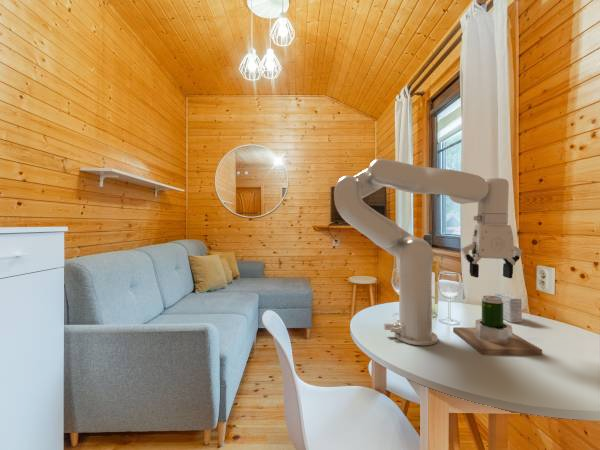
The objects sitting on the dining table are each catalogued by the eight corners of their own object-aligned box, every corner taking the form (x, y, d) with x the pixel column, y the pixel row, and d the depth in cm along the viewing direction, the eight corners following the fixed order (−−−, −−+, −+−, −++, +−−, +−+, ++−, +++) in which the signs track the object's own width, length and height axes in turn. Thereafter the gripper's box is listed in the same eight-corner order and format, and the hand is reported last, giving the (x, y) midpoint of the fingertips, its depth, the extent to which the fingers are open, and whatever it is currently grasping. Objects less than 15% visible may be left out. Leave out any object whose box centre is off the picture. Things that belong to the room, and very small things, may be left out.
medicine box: (522, 322, 102) (522, 298, 102) (510, 323, 102) (510, 299, 102) (505, 315, 110) (505, 293, 110) (494, 315, 110) (494, 293, 110)
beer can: (498, 342, 82) (498, 301, 82) (478, 336, 87) (478, 297, 87) (506, 338, 85) (506, 298, 85) (486, 332, 90) (486, 294, 90)
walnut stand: (481, 354, 78) (481, 348, 78) (453, 331, 94) (453, 327, 94) (542, 355, 78) (542, 349, 77) (503, 332, 93) (503, 327, 93)
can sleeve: (486, 343, 82) (486, 329, 82) (469, 331, 91) (469, 319, 91) (519, 343, 81) (519, 330, 81) (499, 331, 90) (499, 319, 90)
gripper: (469, 219, 82) (468, 278, 82) (531, 220, 81) (530, 280, 82) (456, 219, 90) (455, 274, 90) (513, 220, 89) (511, 275, 89)
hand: (490, 277), depth 86 cm, fingers open, 9 cm apart
